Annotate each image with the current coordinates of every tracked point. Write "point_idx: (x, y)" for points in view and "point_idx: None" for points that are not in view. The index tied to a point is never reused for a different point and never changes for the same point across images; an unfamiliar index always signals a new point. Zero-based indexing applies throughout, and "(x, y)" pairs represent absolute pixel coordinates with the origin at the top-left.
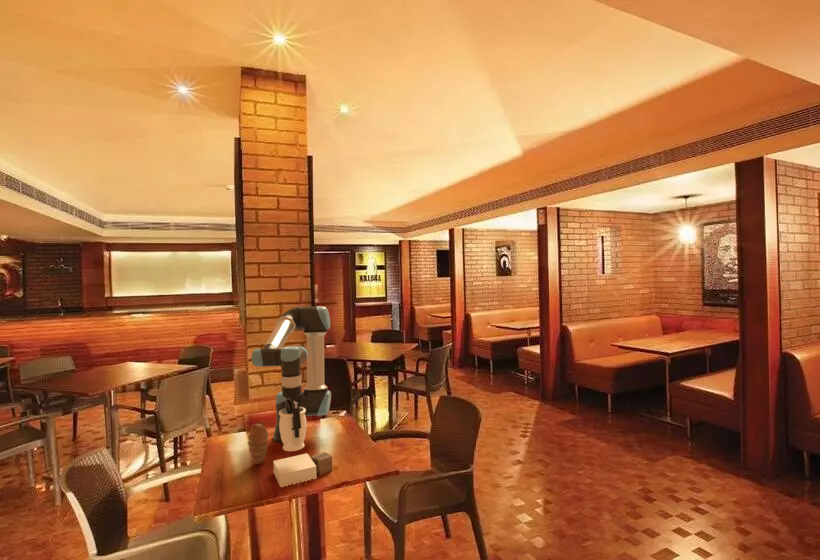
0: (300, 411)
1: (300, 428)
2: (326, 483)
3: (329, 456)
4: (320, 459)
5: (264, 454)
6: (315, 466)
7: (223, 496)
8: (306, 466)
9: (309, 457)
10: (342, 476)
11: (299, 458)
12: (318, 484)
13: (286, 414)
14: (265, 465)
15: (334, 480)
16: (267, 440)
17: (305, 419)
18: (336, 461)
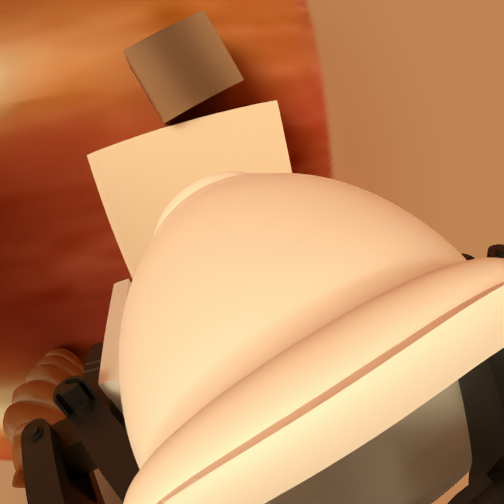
0: (192, 402)
1: (492, 249)
2: (309, 71)
3: (205, 23)
4: (230, 72)
5: (66, 362)
6: (277, 104)
7: None
8: (264, 149)
9: (150, 136)
10: (270, 4)
11: (149, 193)
12: (308, 101)
13: (469, 469)
14: (79, 332)
15: (294, 38)
16: (37, 392)
17: (397, 211)
18: (105, 16)
